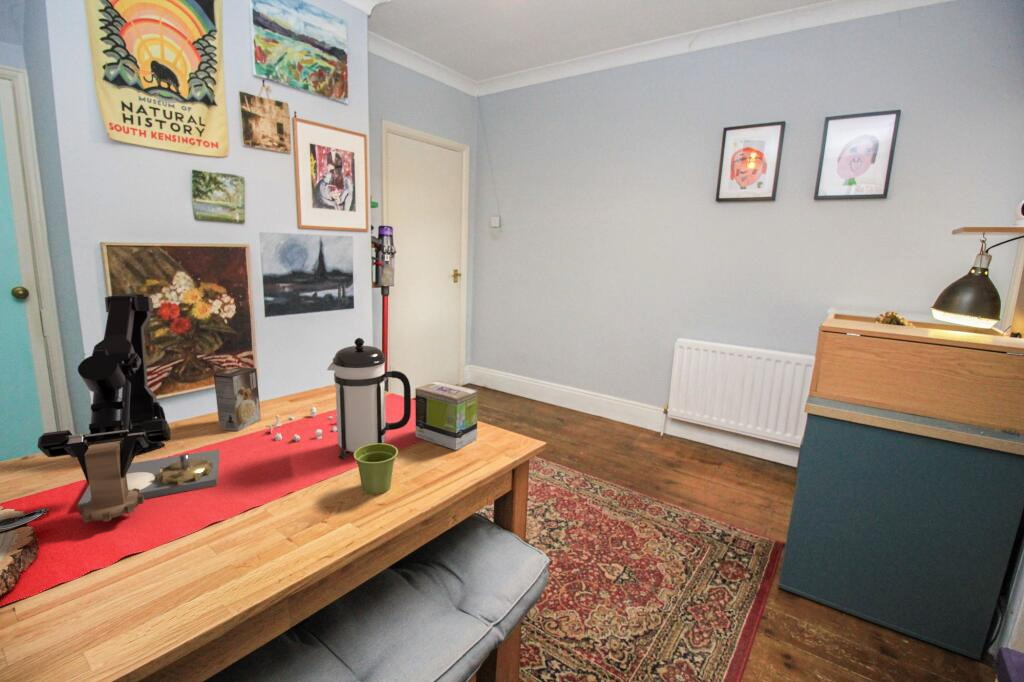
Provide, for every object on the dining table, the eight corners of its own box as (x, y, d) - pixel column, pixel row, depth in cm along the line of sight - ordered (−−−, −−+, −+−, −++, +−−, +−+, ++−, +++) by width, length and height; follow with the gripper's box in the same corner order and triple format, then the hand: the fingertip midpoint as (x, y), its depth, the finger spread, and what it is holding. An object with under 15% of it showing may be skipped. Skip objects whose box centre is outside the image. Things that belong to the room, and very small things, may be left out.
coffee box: (243, 417, 140) (238, 365, 137) (261, 419, 139) (257, 367, 135) (218, 429, 131) (213, 374, 128) (238, 431, 130) (233, 376, 127)
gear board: (99, 474, 105) (98, 467, 105) (219, 454, 116) (219, 448, 116) (79, 511, 91) (77, 503, 91) (217, 485, 103) (216, 478, 102)
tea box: (478, 439, 132) (479, 389, 129) (455, 451, 124) (456, 399, 121) (437, 426, 140) (438, 379, 137) (414, 437, 132) (413, 387, 128)
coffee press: (361, 469, 112) (358, 348, 106) (319, 451, 121) (314, 338, 114) (412, 444, 127) (412, 336, 120) (372, 430, 135) (369, 328, 129)
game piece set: (293, 413, 145) (293, 402, 144) (354, 420, 143) (353, 408, 142) (251, 439, 126) (250, 426, 126) (320, 447, 124) (319, 433, 123)
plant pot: (406, 482, 107) (406, 447, 105) (382, 503, 99) (381, 465, 97) (371, 474, 110) (371, 440, 108) (345, 494, 101) (344, 457, 100)
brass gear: (149, 476, 102) (146, 457, 101) (198, 459, 110) (196, 442, 110) (172, 490, 97) (170, 470, 96) (221, 471, 106) (219, 453, 105)
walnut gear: (87, 501, 91) (77, 442, 88) (147, 490, 95) (139, 433, 93) (72, 528, 83) (61, 463, 80) (139, 514, 87) (130, 453, 85)
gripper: (174, 414, 104) (174, 482, 97) (62, 428, 95) (53, 504, 88) (166, 391, 96) (165, 464, 89) (42, 404, 86) (30, 486, 79)
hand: (106, 479), depth 86 cm, fingers closed on walnut gear, 4 cm apart
